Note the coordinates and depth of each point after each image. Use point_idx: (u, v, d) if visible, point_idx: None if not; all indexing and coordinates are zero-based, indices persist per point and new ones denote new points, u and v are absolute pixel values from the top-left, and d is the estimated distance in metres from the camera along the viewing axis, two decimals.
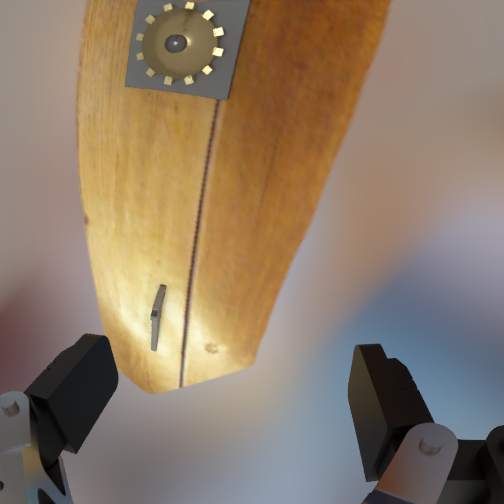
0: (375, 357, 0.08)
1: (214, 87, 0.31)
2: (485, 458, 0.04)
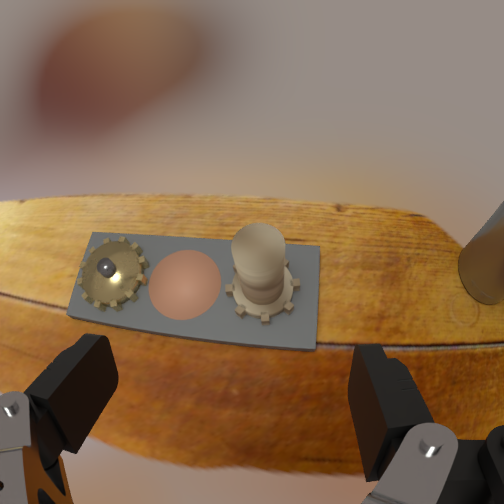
0: (375, 357, 0.08)
1: (76, 304, 0.36)
2: (485, 458, 0.04)
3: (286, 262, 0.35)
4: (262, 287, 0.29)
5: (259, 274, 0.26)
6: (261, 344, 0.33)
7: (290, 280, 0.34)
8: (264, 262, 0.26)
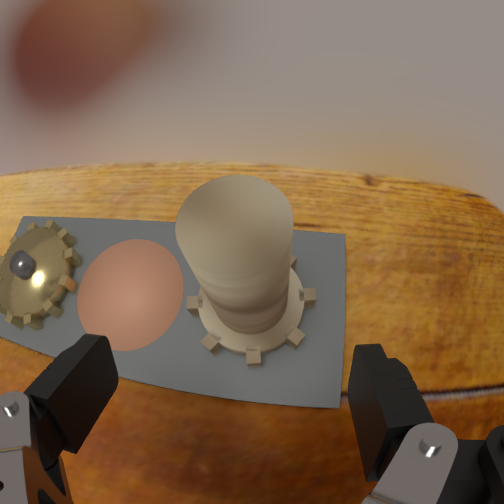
0: (375, 357, 0.08)
1: None
2: (485, 458, 0.04)
3: (292, 259, 0.20)
4: (244, 308, 0.14)
5: (235, 284, 0.12)
6: (247, 399, 0.18)
7: (298, 290, 0.20)
8: (245, 256, 0.11)
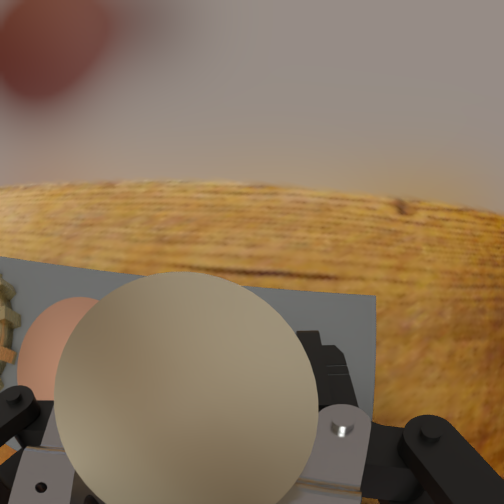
0: (309, 342, 0.09)
1: None
2: (406, 452, 0.05)
3: None
4: None
5: None
6: None
7: None
8: (198, 500, 0.04)
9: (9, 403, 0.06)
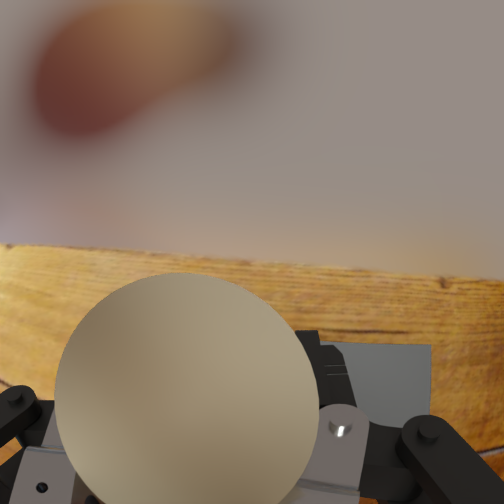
0: (308, 342, 0.09)
1: None
2: (404, 452, 0.05)
3: None
4: None
5: None
6: None
7: None
8: (199, 501, 0.04)
9: (10, 403, 0.06)
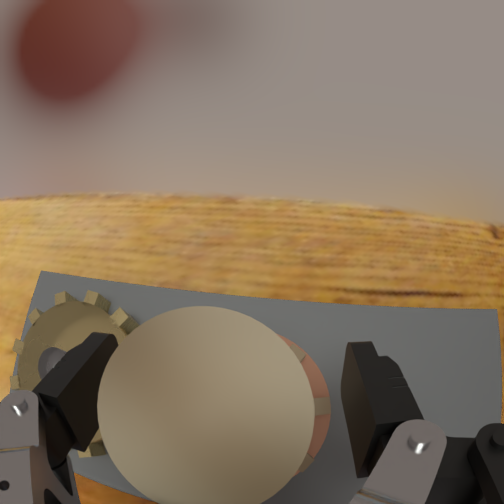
0: (366, 354, 0.08)
1: None
2: (475, 456, 0.04)
3: (300, 357, 0.14)
4: None
5: None
6: None
7: None
8: (221, 487, 0.05)
9: None
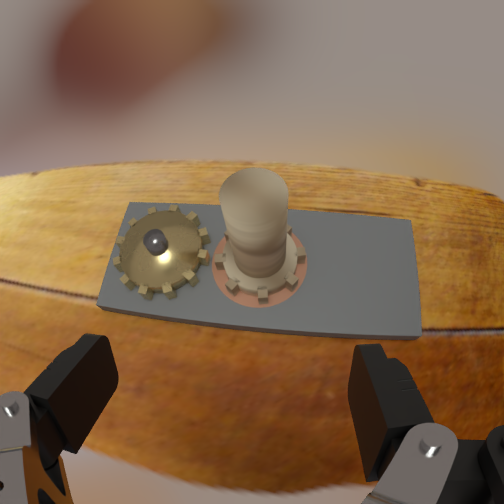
0: (375, 357, 0.08)
1: (111, 291, 0.29)
2: (485, 458, 0.04)
3: (288, 228, 0.29)
4: (258, 250, 0.23)
5: (255, 229, 0.20)
6: (363, 333, 0.26)
7: (293, 249, 0.28)
8: (261, 212, 0.20)
9: None
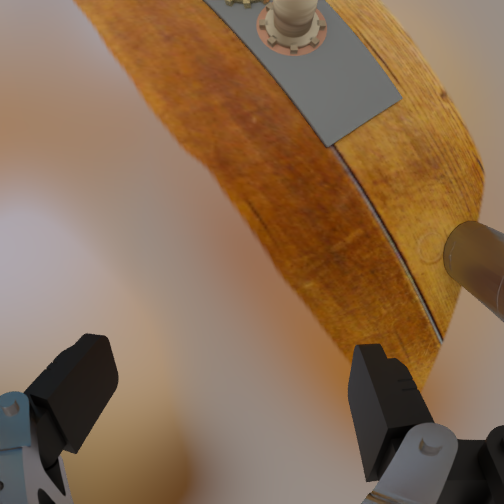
0: (375, 357, 0.08)
1: None
2: (485, 458, 0.04)
3: (323, 25, 0.30)
4: (280, 17, 0.26)
5: (279, 5, 0.24)
6: (300, 109, 0.35)
7: (312, 35, 0.31)
8: (288, 1, 0.23)
9: None
